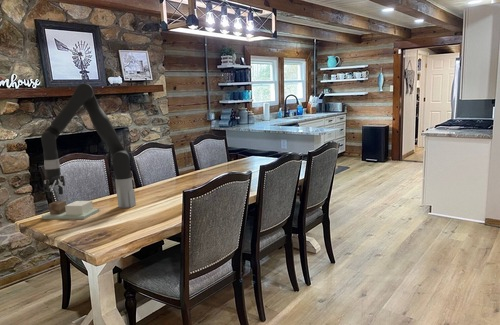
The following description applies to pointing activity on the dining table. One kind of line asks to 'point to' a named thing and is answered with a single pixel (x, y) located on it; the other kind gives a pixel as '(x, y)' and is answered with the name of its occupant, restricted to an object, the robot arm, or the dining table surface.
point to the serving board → (64, 216)
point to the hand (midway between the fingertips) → (55, 196)
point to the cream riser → (79, 207)
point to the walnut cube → (57, 207)
